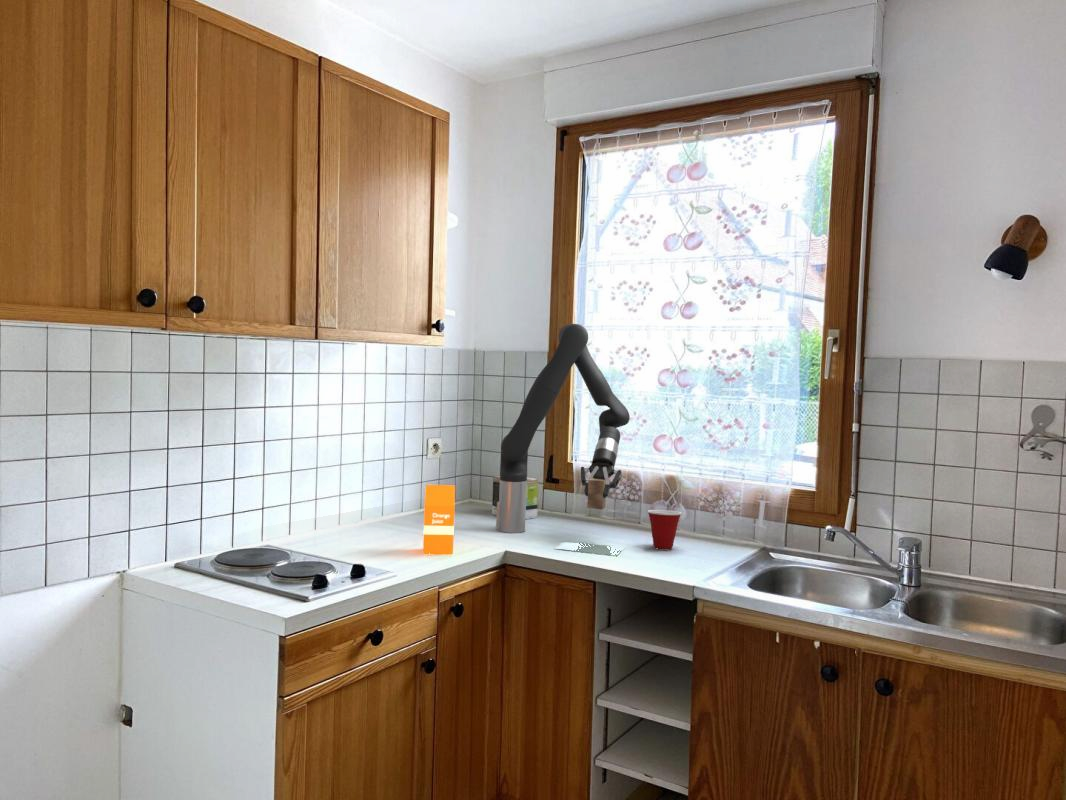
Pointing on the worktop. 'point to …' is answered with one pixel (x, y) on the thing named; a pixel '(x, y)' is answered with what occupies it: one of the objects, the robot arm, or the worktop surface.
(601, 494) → the walnut block
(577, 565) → the worktop surface
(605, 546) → the mat
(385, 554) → the worktop surface
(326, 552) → the worktop surface
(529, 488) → the tea box
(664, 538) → the plastic cup
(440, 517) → the orange juice
